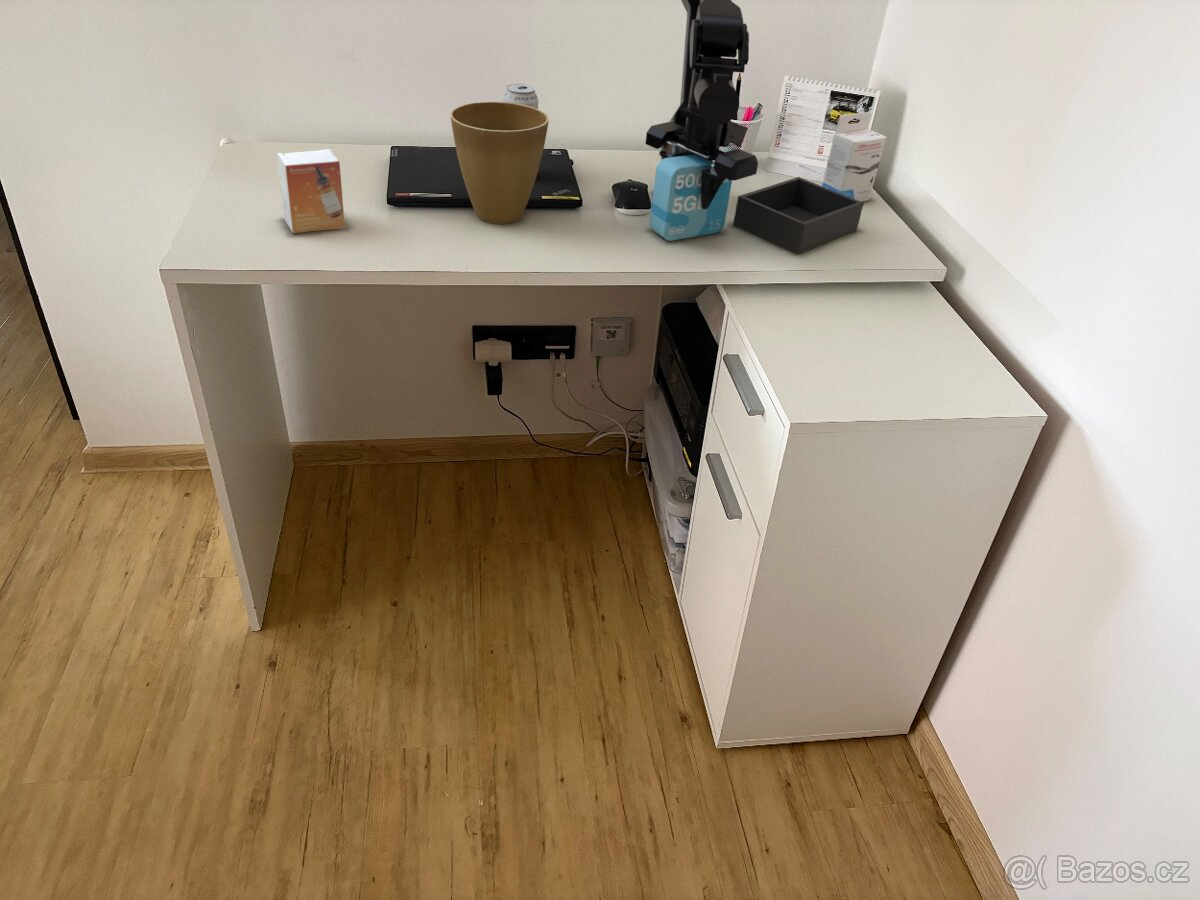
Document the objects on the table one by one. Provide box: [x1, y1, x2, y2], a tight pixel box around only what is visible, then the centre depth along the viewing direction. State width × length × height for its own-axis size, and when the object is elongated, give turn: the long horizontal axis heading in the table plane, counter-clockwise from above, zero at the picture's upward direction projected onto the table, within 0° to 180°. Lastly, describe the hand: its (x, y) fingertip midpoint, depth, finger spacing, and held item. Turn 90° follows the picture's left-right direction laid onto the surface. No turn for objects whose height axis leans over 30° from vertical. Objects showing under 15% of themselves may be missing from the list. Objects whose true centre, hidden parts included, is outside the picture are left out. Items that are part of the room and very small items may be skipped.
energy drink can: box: [502, 83, 539, 110], centre depth 159 cm, size 6×6×15 cm
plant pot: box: [449, 101, 550, 225], centre depth 144 cm, size 15×15×16 cm
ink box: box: [821, 111, 887, 202], centre depth 163 cm, size 8×5×15 cm, turn 123°
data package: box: [649, 154, 733, 242], centre depth 146 cm, size 12×4×12 cm, turn 120°
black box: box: [732, 176, 865, 255], centre depth 153 cm, size 14×17×5 cm
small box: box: [276, 148, 346, 234], centre depth 137 cm, size 8×6×10 cm
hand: (692, 203), depth 146 cm, fingers closed on data package, 5 cm apart
